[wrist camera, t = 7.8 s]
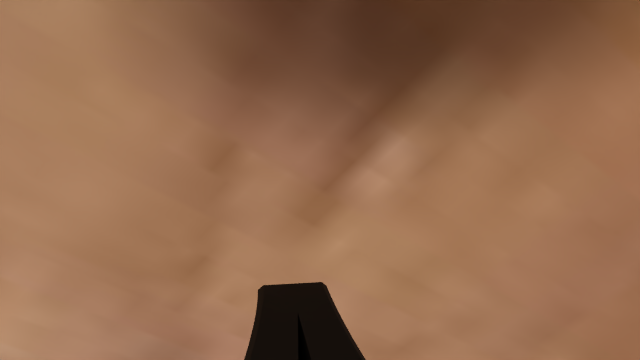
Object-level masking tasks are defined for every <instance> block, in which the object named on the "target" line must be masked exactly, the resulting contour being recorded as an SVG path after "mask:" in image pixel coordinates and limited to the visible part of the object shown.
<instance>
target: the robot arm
mask: <svg viewBox="0 0 640 360" xmlns="http://www.w3.org/2000/svg"><path fill="white" fill-rule="evenodd" d="M244 360H365V358H364V356H363V355H362V353H361V352H360V350H359V348H358V347H357V345H356V343H355V342H354V340H353V338H352V336H351V335H350V333H349V331H348V329H347V327H346V325H345V324H344V322H343V320H342V318H341V316H340V314H339V312H338V310H337V308H336V306H335V304H334V302H333V300H332V298H331V296H330V293H329V291H328V288H327V286H326V285H325V284H323V283H322V282H316V283H298V284H280V285H263V286H262V287H261V288H260V289H258V302H257V310H256V316H255V321H254V326H253V330H252V334H251V338H250V342H249V346H248V349H247V352H246V356H245V359H244Z"/></svg>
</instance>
